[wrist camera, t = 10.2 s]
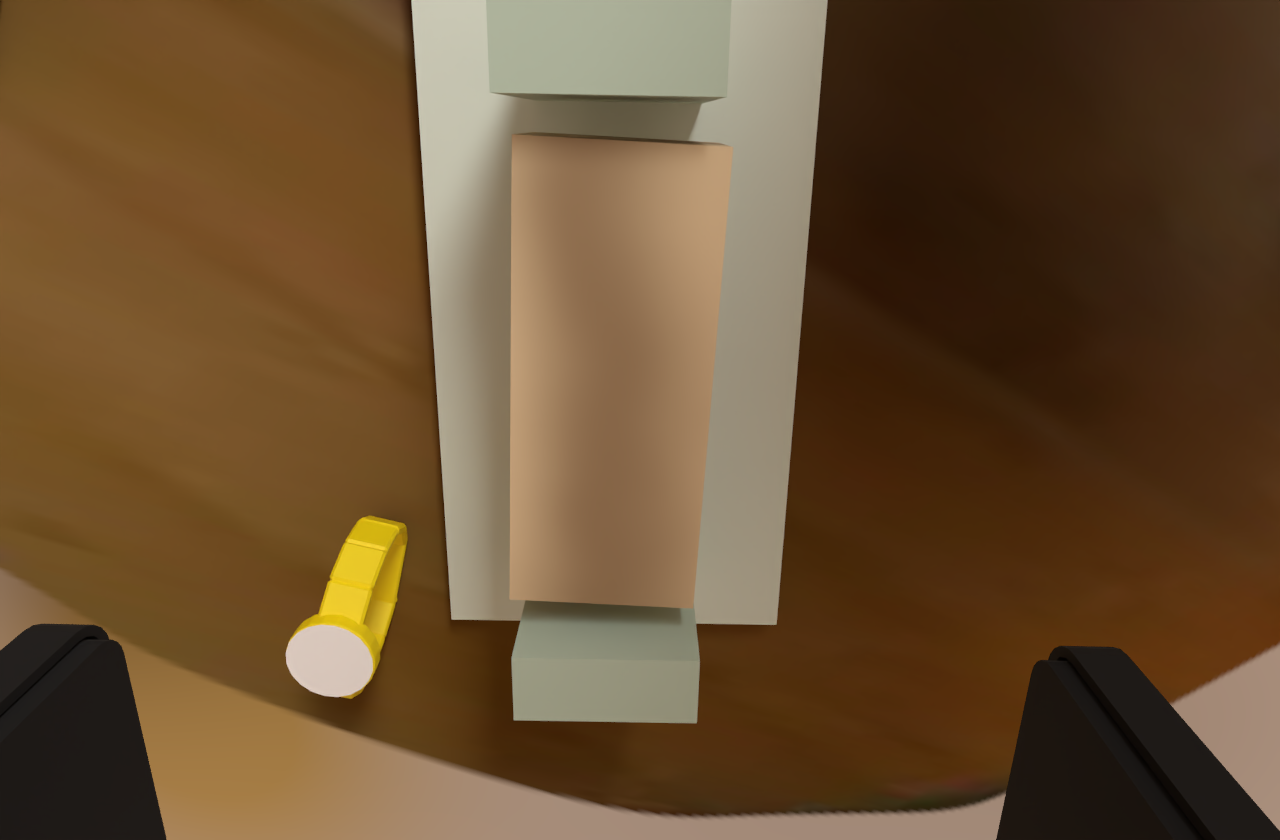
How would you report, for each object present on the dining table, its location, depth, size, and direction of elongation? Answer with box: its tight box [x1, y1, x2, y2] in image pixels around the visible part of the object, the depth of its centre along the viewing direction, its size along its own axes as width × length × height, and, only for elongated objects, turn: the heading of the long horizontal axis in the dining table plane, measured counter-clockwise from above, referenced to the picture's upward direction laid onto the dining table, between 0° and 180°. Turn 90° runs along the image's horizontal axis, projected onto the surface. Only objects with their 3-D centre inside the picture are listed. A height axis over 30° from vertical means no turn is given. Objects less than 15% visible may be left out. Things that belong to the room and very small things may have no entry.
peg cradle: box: [411, 0, 828, 723], centre depth 25 cm, size 12×22×9 cm, turn 179°
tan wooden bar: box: [509, 132, 733, 609], centre depth 23 cm, size 5×12×4 cm, turn 177°
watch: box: [286, 516, 408, 699], centre depth 29 cm, size 6×3×6 cm, turn 166°
